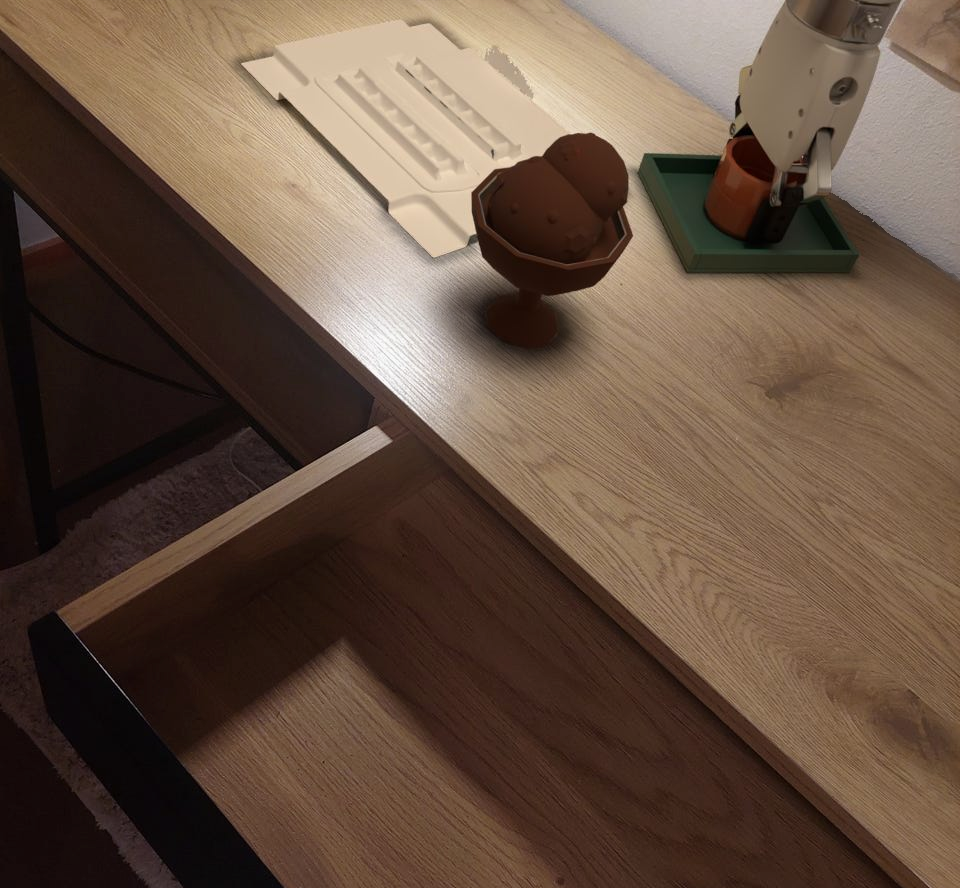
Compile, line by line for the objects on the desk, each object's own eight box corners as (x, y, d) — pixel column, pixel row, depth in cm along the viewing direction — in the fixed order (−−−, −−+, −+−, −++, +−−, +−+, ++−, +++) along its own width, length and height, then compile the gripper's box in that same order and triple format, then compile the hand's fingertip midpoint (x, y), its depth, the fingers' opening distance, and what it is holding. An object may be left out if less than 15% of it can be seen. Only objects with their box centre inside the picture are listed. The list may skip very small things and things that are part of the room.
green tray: (790, 176, 97) (799, 157, 96) (849, 272, 90) (860, 254, 88) (637, 171, 93) (644, 152, 91) (686, 272, 86) (695, 253, 84)
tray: (434, 259, 81) (441, 217, 78) (238, 75, 92) (238, 32, 89) (624, 192, 91) (636, 152, 88) (426, 33, 102) (431, -7, 99)
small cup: (763, 192, 94) (789, 136, 90) (793, 244, 90) (822, 188, 86) (691, 190, 92) (714, 133, 88) (719, 243, 88) (744, 186, 84)
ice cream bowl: (518, 254, 83) (566, 72, 71) (623, 338, 79) (692, 162, 68) (418, 304, 77) (452, 115, 66) (526, 397, 74) (583, 216, 62)
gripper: (940, 74, 73) (824, 279, 87) (837, -54, 82) (747, 150, 96) (845, 68, 71) (742, 279, 85) (751, -63, 80) (672, 147, 94)
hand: (745, 209), depth 90 cm, fingers closed on small cup, 7 cm apart
